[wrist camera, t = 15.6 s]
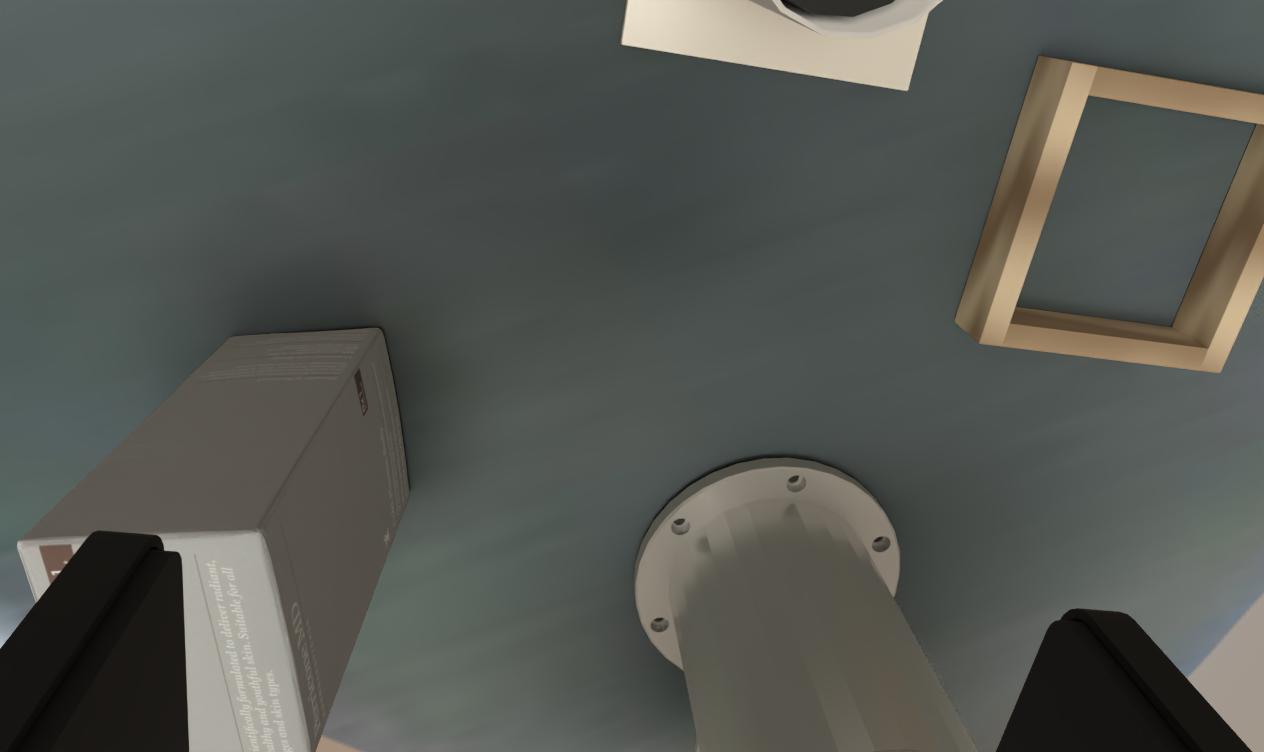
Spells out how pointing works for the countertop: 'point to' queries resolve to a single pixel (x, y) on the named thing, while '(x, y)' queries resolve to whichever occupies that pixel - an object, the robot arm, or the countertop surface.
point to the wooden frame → (1222, 283)
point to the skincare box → (257, 524)
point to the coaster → (770, 41)
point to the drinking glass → (851, 15)
